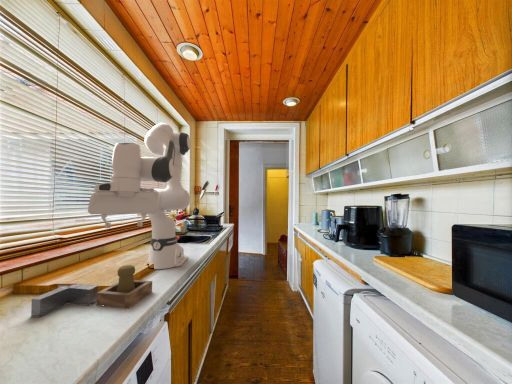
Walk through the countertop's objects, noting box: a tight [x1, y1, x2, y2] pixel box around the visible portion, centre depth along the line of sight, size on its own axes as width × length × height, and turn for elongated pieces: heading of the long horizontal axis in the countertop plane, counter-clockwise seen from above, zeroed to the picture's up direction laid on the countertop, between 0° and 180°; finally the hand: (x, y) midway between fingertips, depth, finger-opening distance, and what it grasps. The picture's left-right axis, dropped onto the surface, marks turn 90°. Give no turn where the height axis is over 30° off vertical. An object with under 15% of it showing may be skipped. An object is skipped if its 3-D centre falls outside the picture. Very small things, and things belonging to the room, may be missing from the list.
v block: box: [30, 283, 99, 318], centre depth 68 cm, size 8×16×5 cm, turn 126°
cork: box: [117, 264, 136, 293], centre depth 73 cm, size 6×6×11 cm
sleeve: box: [95, 279, 153, 309], centre depth 73 cm, size 12×12×4 cm
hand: (124, 227), depth 74 cm, fingers open, 8 cm apart
